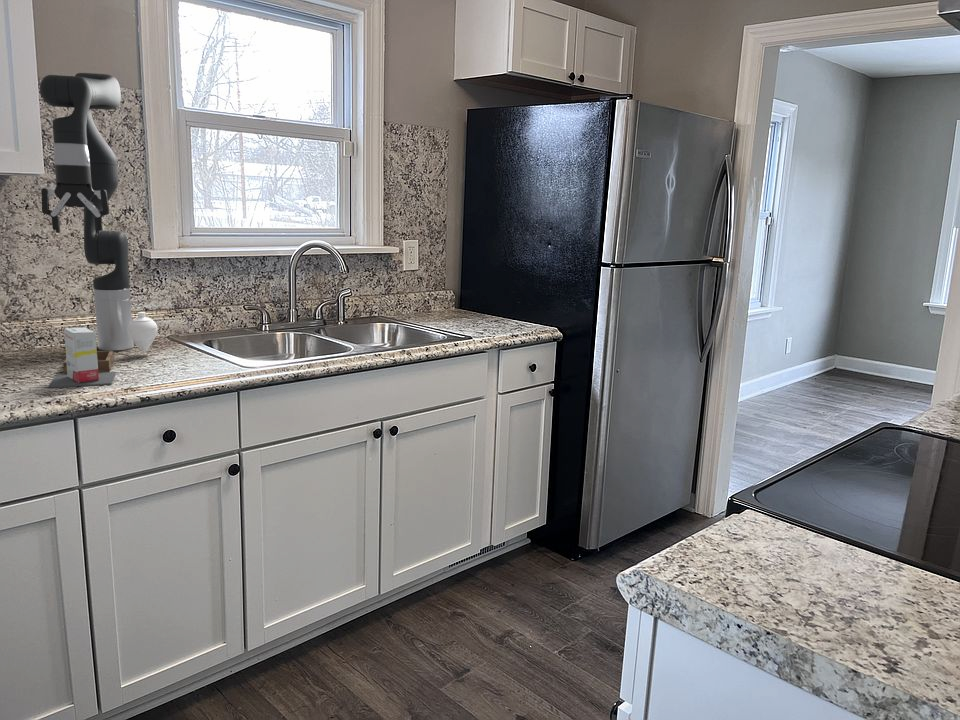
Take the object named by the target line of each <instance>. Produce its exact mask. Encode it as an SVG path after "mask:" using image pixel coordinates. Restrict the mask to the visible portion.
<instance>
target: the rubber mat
mask: <svg viewBox="0 0 960 720" xmlns="http://www.w3.org/2000/svg"><path fill="white" fill-rule="evenodd" d="M98 374H99V380H96V381H88V382H80V383H78V382H76V381H74V380H73V379H71V378H69V377H68V376H67V374H64V373H63V374H56V375H55V376H54V378H53V379H52V380H51V381H50V383H49V384H48V386H47V389H58V388H60V387H61V388H73V387H74V388H75V387H76V388H77V387H78V386H79V387H95V386H111V385H112V384H113V382H114V379H115V376H116V374H117V373H116V371H110V372H104V373H98Z"/></svg>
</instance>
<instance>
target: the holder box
mask: <svg viewBox="0 0 960 720" xmlns="http://www.w3.org/2000/svg"><path fill="white" fill-rule="evenodd" d="M97 361H98V373H104V372H111V370H112V368H113V366H114V363H115V354H114V350H113V351H109V350H99V351H98V350H97ZM62 366H63V374H67V362H66V359H65V360H63V363H62Z"/></svg>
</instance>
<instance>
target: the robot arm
mask: <svg viewBox="0 0 960 720" xmlns="http://www.w3.org/2000/svg"><path fill="white" fill-rule="evenodd" d="M39 93H40V96H41V98H42V99H43V101H44V102H45V103H47V104H48V105H50V106H51V107H56V108H57V107H59V108H73V111H72V112H71V114H70V115H67V116H62V117H61V116H60V117H56V118H54V119H53V120H52V137H53V164H54V173H55V185H56V186H55V189H53V188H46V187H42V188H41V212H42V214H44V215H47V216H50V217H51V227H52V230H53V231H55V233H56V234H61V221H60V219H61V218H60V216H59V215H60V213H61V212H62V210H63V209H64V208H65V207H67V208H74V207H75V208H76V207H77V208H83V250H84V256H85V260H86V261H87V262H88V263H89V264H91V265H114V266H115V267H114V269H112V270H111V271H110V272H108V273H106V274H104V275H101V276H97V277H95V278H94V279H93V281H92V282H93V283H92V286H93V287H92V288H93V295H94V297H93V298H94V309H95V321H96V322H95V323H96V335H97V337H96V340H97V346H98V347H97V349H98V350H99V351H113V352H114V351H124V350H130V349H133V348H134V347H135V346H134V344H135V343H134V342H133V341H132V339H131V338H130V336H129V334H128V330H127V328H128V325H129V323H130V322H131V321H132V320H133V318H132V317H133V315H132V303H131V302H132V301H131V292H130V291H131V289H130V287H131V286H130V274H129V273H130V272H129V241H128V238H127V235H126V234H125V232H123V231H117V230H116V231H115V230H103V219H102V218H103V217H104V216H107V215H109V214H110V207H109V202H110V199H111V198H112V196H113V195H114V193H115V192H116V190H117V188H118V185H119V170H118V169H119V167H118V159H117V156H116V155H115V152H114V150H112V148H111V147H110V145H109V144H108V143H107V142H106V139H104V137H103V136H102V134H101V133H100V131H99V129H98V128H97V126H96V124H95V121H94V119H93V115H92V110H108V111H111V110H116V109H118V107H119V106H120V104H121V101H122V99H121V98H122V91H121V86H120V83H119V81H118V79H117V78H115V76H114V75H110V74H107V73H93V72H78V73H76V74H75V75H63V74H62V75H61V74H60V75H59V74H47V75H46V76H44V77H43V78H42V79H41V81H40V83H39ZM54 194H55V196H56V197H57V198H58V199H59V202H58V203H57V204H56V205H55V207H54V208H53V209H50V199H51V198H52V197H53V195H54Z"/></svg>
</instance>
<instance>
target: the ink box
mask: <svg viewBox="0 0 960 720" xmlns="http://www.w3.org/2000/svg"><path fill="white" fill-rule="evenodd" d="M63 332H64V333H63V334H64V342H65V343H64V345H65V357H66V358H65V360H66V362H67V376H68V377H69V378H71V379H73V380H74V381H76V382H78V383H80V382H88V381H96V380H99V374H98V361H97V351H98V350H97V349H98V347H97V337H96V335H97V333H96V332H95V331H93V330H91V329H89V328H87V327H66V328H64V329H63Z"/></svg>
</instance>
